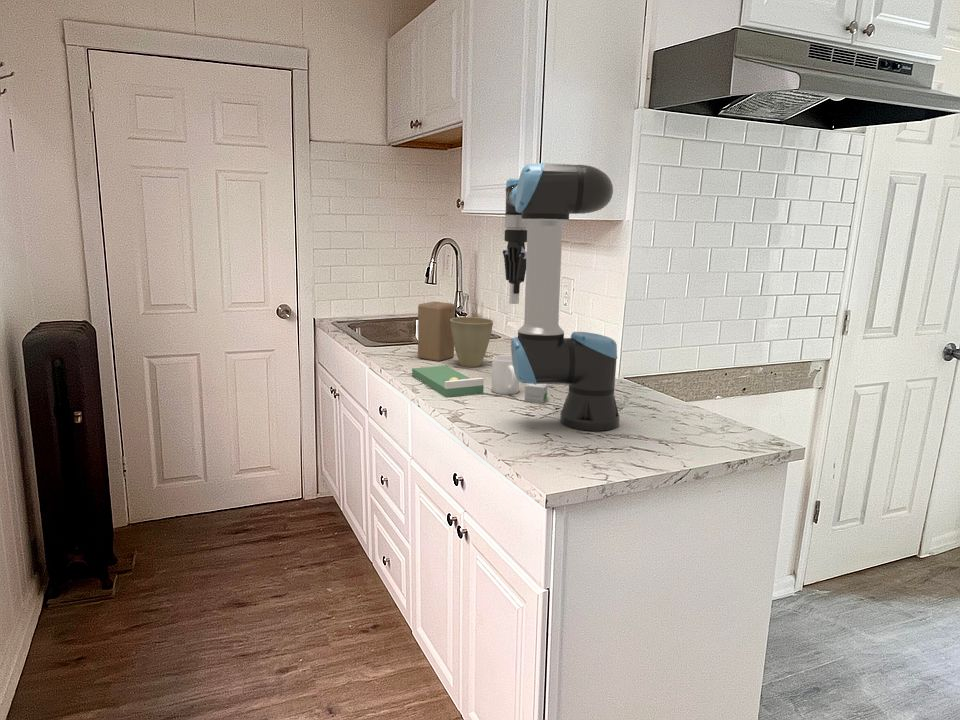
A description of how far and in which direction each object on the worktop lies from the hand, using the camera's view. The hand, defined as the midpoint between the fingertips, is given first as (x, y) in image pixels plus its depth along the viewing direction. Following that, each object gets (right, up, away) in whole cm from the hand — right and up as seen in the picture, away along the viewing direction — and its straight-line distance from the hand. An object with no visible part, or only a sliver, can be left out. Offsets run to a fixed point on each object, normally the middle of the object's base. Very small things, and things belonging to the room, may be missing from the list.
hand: (514, 303), depth 224 cm
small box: (+5, -30, -23) cm, 38 cm away
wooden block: (-27, -18, +30) cm, 44 cm away
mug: (-3, -28, -16) cm, 32 cm away
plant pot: (-14, -20, +20) cm, 32 cm away
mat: (-22, -26, -7) cm, 34 cm away
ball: (-19, -25, -13) cm, 34 cm away
